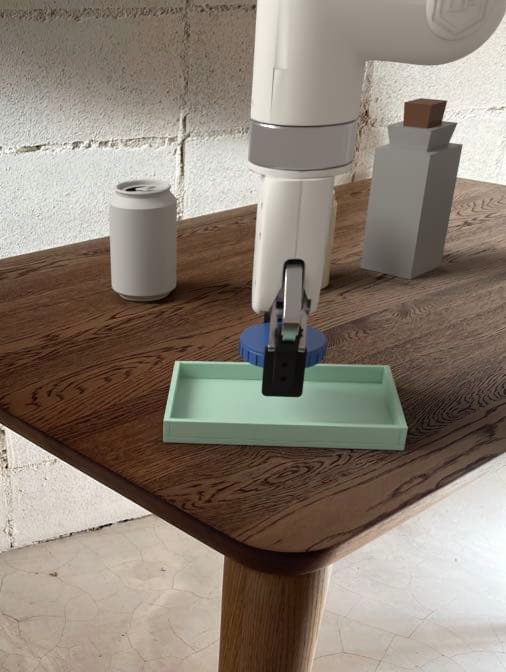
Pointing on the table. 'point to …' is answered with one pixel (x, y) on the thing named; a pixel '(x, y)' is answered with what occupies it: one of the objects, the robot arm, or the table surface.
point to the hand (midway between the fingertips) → (280, 373)
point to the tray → (285, 407)
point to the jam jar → (329, 244)
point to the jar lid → (258, 338)
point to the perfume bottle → (412, 193)
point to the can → (143, 239)
